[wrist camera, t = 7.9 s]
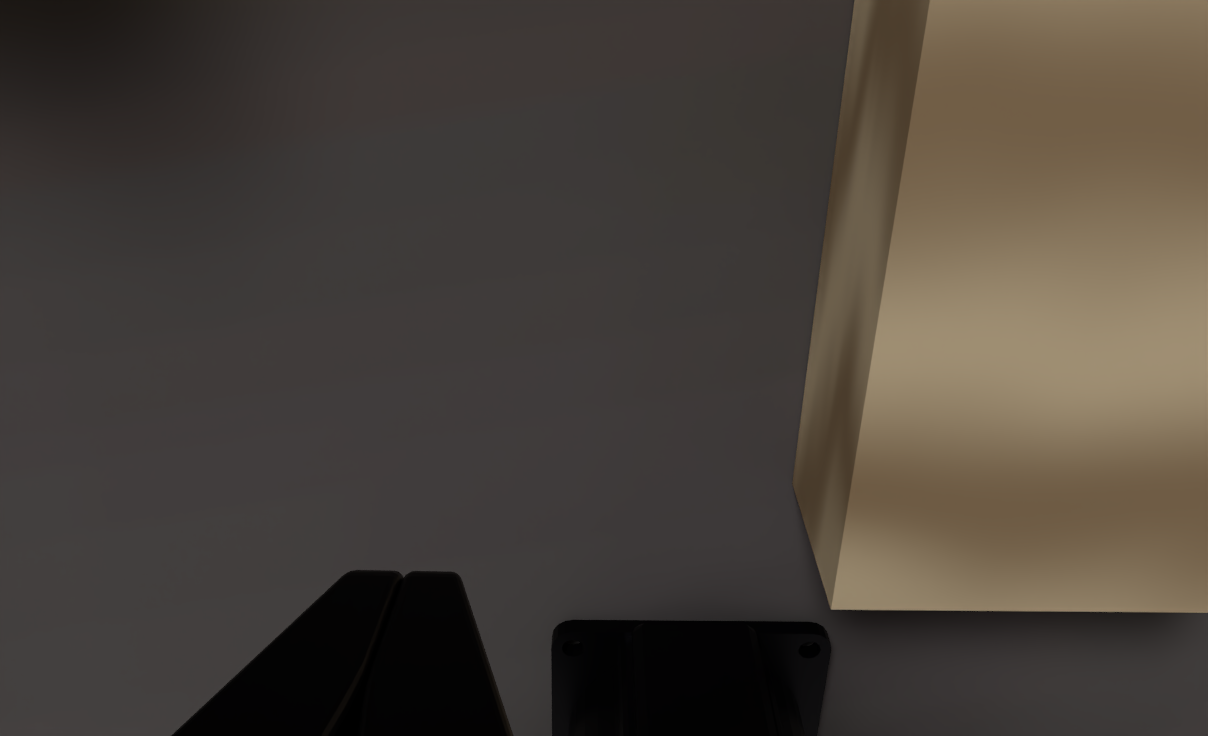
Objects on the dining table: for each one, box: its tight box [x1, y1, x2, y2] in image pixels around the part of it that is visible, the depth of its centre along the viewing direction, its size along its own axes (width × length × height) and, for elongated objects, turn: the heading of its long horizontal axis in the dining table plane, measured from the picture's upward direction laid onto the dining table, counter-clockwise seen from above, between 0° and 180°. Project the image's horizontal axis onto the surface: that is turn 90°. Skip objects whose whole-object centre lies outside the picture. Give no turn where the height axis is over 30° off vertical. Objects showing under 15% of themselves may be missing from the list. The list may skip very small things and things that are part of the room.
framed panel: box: [792, 0, 1208, 613], centre depth 16 cm, size 18×8×4 cm, turn 179°
